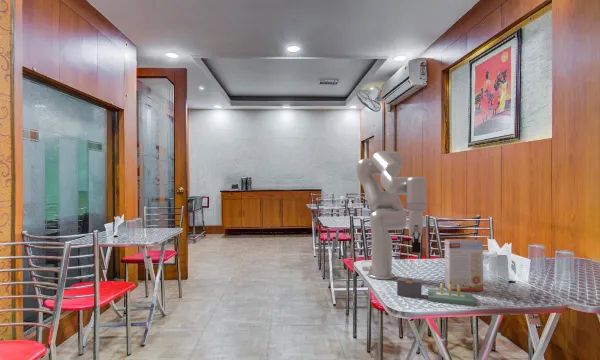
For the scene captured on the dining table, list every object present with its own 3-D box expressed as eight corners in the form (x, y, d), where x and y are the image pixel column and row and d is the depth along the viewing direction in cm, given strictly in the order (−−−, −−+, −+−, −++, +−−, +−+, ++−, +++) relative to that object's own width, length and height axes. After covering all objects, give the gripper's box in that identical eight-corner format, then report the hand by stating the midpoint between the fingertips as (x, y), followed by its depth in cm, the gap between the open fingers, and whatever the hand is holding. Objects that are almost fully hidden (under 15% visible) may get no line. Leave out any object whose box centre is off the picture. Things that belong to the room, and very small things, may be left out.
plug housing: (397, 295, 144) (397, 280, 144) (398, 292, 148) (398, 277, 149) (421, 298, 141) (421, 282, 141) (421, 294, 145) (421, 279, 146)
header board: (428, 300, 137) (428, 286, 137) (428, 292, 148) (428, 278, 148) (475, 306, 132) (475, 290, 132) (471, 296, 143) (471, 282, 143)
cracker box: (476, 287, 157) (476, 238, 157) (483, 291, 151) (483, 240, 151) (443, 287, 157) (444, 238, 157) (449, 291, 151) (449, 240, 151)
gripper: (406, 206, 156) (406, 246, 155) (406, 208, 139) (405, 253, 139) (425, 207, 153) (425, 247, 153) (426, 208, 137) (426, 254, 136)
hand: (416, 250), depth 146 cm, fingers open, 9 cm apart
